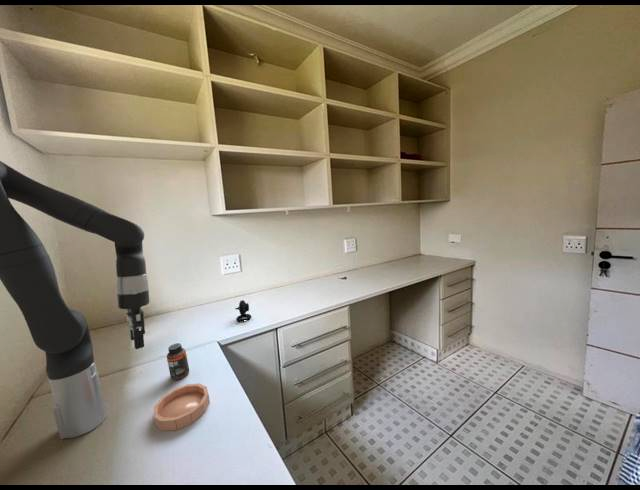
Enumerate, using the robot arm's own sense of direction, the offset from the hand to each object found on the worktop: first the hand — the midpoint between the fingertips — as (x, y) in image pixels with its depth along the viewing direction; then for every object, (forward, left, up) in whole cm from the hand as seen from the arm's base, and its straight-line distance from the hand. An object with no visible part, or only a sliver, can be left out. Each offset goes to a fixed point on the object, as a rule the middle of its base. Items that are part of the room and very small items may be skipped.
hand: (137, 343), depth 77 cm
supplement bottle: (+9, +8, -19) cm, 23 cm away
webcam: (+40, +40, -19) cm, 60 cm away
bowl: (+9, -11, -19) cm, 24 cm away
